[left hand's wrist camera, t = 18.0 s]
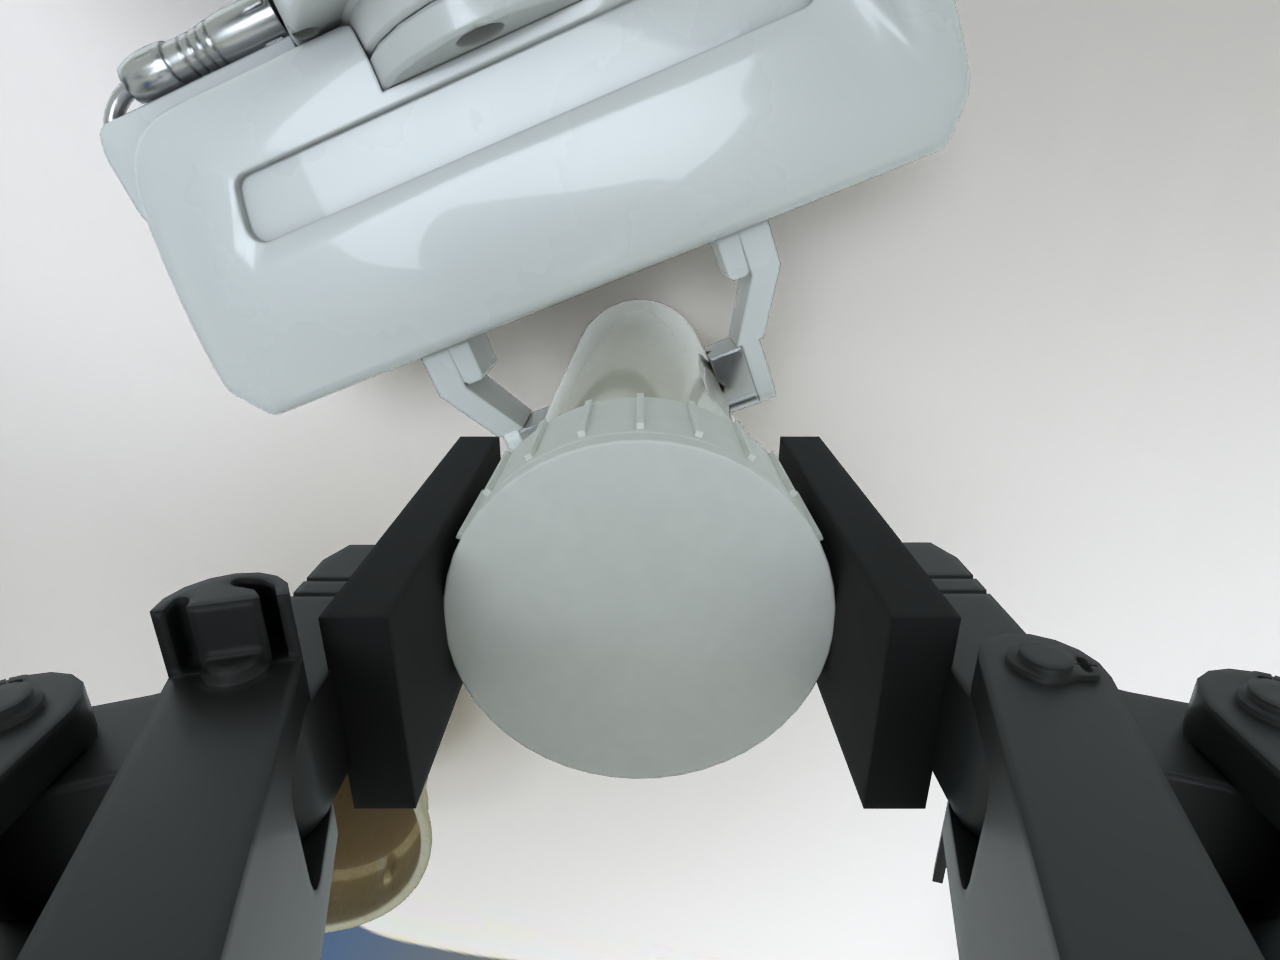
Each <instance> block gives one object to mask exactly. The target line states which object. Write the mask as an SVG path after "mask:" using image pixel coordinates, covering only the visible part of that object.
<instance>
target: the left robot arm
mask: <svg viewBox="0 0 1280 960" xmlns="http://www.w3.org/2000/svg"><path fill="white" fill-rule="evenodd" d="M500 460H501V456H500V443H499V437H460V438H459V439H458V441H457V442H456V443H455V444H454V446H453V447H452V448H451V449H450V451H449V452H448V453H447V455H446V456H445V457H444V458H443V460H442V461H441V462H440V463H439V465H438V466H437V467H436V469H435V470H434V471H433V472H432V474H431V475H430V476H429V477H428V479H427V480H426V481H425V482H424V484H423V485H422V486H421V488H420V489H419V490H418V491H417V493H416V494H415V495H414V496H413V498H412V499H411V500H410V502H409V503H408V504H407V505H406V507H405V508H404V509H403V510H402V512H401V513H400V514H399V516H398V517H397V518H396V519H395V521H394V522H393V523H392V524H391V526H390V527H389V528H388V530H387V531H386V532H385V533H384V535H383V536H382V537H381V538H380V540H379V541H378V542H377V543H376V545H349V546H347V547H345V548H344V549H342V550H340V551H338V552H337V553H335V554H333V555H331V556H329V557H328V558H326V559H324V560H323V561H322V562H321V563H320V564H319V565H318V566H317V567H316V568H315V570H314V571H313V572H312V573H311V574H310V575H309V576H308V577H307V581H304V582H303V583H302V584H301V585H300V586H299V587H298V588H297V590H296V591H295V592H294V596H293V597H290V592H289V588H288V583H287V582H285V581H284V580H282V579H281V578H279V577H278V576H275V575H269V574H264V573H236V574H231V575H226V576H220V577H215V578H210V579H207V580H204V581H201V582H198V583H196V584H193V585H190V586H187V587H184V588H182V589H180V590H179V591H177V592H175V593H173V594H171V595H169V596H168V597H166V598H164V599H163V600H162V601H160V602H159V603H158V604H157V605H156V606H155V607H154V608H153V609H152V610H151V611H150V614H151V618H152V621H153V625H154V628H155V632H156V635H157V639H158V642H159V645H160V649H161V652H162V656H163V659H164V663H165V666H166V670H167V673H168V677H169V679H168V680H167V682H166V684H165V686H164V688H163V690H162V692H161V693H159V694H155V695H150V696H145V697H140V698H134V699H129V700H124V701H119V702H113V703H108V704H103V705H98V706H92V707H91V704H90V701H89V698H88V695H87V692H86V689H85V686H84V683H83V682H82V681H81V680H79V679H78V678H76V677H75V676H74V675H72V674H64V673H55V672H49V673H41V674H33V675H21V676H16V677H12V678H9V680H7V681H6V679H4V680H1V681H0V960H321V955H322V948H323V940H324V933H325V926H326V918H327V911H328V904H329V896H330V889H331V881H332V874H333V867H334V859H335V852H336V845H337V837H338V831H337V824H336V818H335V813H334V808H333V803H332V802H333V800H334V798H335V796H336V795H337V793H338V791H339V789H340V787H341V785H342V783H343V781H344V779H345V777H346V775H347V773H348V778H349V783H350V788H351V794H352V799H353V804H354V809H416V807H417V804H418V801H419V799H420V796H421V793H422V791H423V788H424V785H425V782H426V780H427V777H428V774H429V772H430V769H431V766H432V764H433V761H434V758H435V756H436V753H437V750H438V748H439V745H440V742H441V740H442V737H443V734H444V732H445V729H446V726H447V724H448V721H449V718H450V716H451V713H452V710H453V707H454V705H455V702H456V699H457V697H458V694H459V691H460V689H461V686H462V683H463V682H462V680H461V678H460V676H459V674H458V672H457V669H456V667H455V665H454V663H453V659H452V656H451V653H450V650H449V647H448V641H447V633H446V624H445V615H444V600H443V598H444V591H445V584H446V578H447V573H448V570H449V567H450V564H451V560H452V557H453V554H454V552H455V550H456V548H457V546H458V544H459V541H460V540H459V539H457V538H456V536H457V534H458V531H459V530H460V528H461V526H462V524H463V523H464V521H465V519H466V517H467V515H468V514H469V512H470V510H471V508H472V507H473V505H474V503H475V501H476V499H477V498H478V496H479V494H480V492H481V491H482V490H484V489H485V487H486V485H487V483H488V482H489V480H490V478H491V476H492V474H493V473H494V471H495V469H496V467H497V465H498V464H499V462H500ZM779 461H780V463H781V465H782V467H783V469H784V470H785V472H786V474H787V476H788V478H789V479H790V481H791V483H792V485H793V487H794V488H795V490H796V491H798V493H799V495H800V496H801V498H802V500H803V502H804V504H805V505H806V507H807V509H808V511H809V512H810V514H811V516H812V518H813V520H814V521H815V523H816V525H817V527H818V529H819V530H820V532H821V534H822V536H823V540H821V541H820V543H821V546H822V548H823V551H824V553H825V555H826V558H827V560H828V563H829V567H830V571H831V575H832V579H833V584H834V592H835V619H834V628H833V636H832V642H831V646H830V651H829V654H828V656H827V659H826V662H825V664H824V667H823V669H822V672H821V674H820V676H819V678H818V679H817V681H816V682H817V685H818V687H819V690H820V693H821V695H822V698H823V701H824V703H825V706H826V709H827V711H828V714H829V717H830V719H831V722H832V725H833V727H834V730H835V733H836V735H837V738H838V741H839V744H840V746H841V749H842V752H843V754H844V757H845V760H846V762H847V765H848V768H849V770H850V773H851V776H852V778H853V781H854V784H855V786H856V789H857V792H858V794H859V797H860V800H861V802H862V805H863V808H864V809H925V807H926V802H927V796H928V791H929V786H930V781H931V775H932V771H933V773H934V774H935V776H936V778H937V780H938V782H939V784H940V786H941V788H942V790H943V792H944V794H945V796H946V797H947V799H948V803H947V808H946V813H945V818H944V822H943V827H942V832H941V837H940V842H939V847H938V852H937V857H936V862H935V867H934V874H933V881H934V882H938V883H943V878H944V873H945V869H946V868H947V872H948V880H949V887H950V894H951V902H952V909H953V916H954V924H955V931H956V938H957V946H958V953H959V960H1280V677H1278V676H1275V677H1272V676H1271V674H1267V673H1262V672H1258V671H1244V670H1236V669H1222V670H1213V671H1208V672H1206V673H1205V674H1203V675H1202V676H1201V677H1199V678H1198V679H1197V682H1196V685H1195V687H1194V690H1193V693H1192V696H1191V699H1190V702H1189V703H1184V702H1179V701H1173V700H1168V699H1163V698H1158V697H1152V696H1147V695H1142V694H1136V693H1131V692H1127V691H1122V690H1118V688H1117V687H1116V685H1115V683H1114V681H1113V679H1112V677H1111V676H1110V675H1109V674H1108V673H1107V672H1106V670H1105V669H1104V668H1103V667H1102V666H1101V665H1100V663H1098V662H1097V661H1095V660H1094V659H1092V658H1091V657H1089V656H1088V655H1086V654H1085V653H1083V652H1082V651H1080V650H1078V649H1076V648H1073V647H1071V646H1068V645H1066V644H1063V643H1061V642H1059V641H1056V640H1053V639H1048V638H1044V637H1040V636H1035V635H1031V634H1026V633H1025V632H1024V631H1023V630H1022V629H1021V628H1020V627H1019V625H1018V624H1017V623H1016V622H1015V621H1014V620H1013V619H1012V618H1011V617H1010V616H1009V614H1008V613H1007V612H1006V611H1005V610H1004V609H1003V608H1002V607H1001V606H1000V605H999V603H998V602H997V601H996V600H995V599H994V598H993V597H992V596H991V595H990V594H987V593H986V589H985V588H984V587H983V586H982V585H981V584H980V583H979V581H978V580H977V579H973V575H972V574H971V573H970V572H969V570H968V569H967V568H966V567H965V566H964V565H963V564H962V563H961V562H960V561H959V559H958V558H957V557H955V556H953V555H951V554H949V553H948V552H946V551H944V550H942V549H941V548H939V547H937V546H935V545H933V544H932V543H902V542H901V540H900V539H899V538H898V536H897V535H896V534H895V533H894V531H893V530H892V529H891V528H890V526H889V525H888V524H887V523H886V521H885V520H884V519H883V517H882V516H881V515H880V514H879V512H878V511H877V510H876V509H875V507H874V506H873V505H872V503H871V502H870V501H869V500H868V498H867V497H866V496H865V495H864V493H863V492H862V491H861V489H860V488H859V487H858V486H857V484H856V483H855V482H854V481H853V479H852V478H851V477H850V475H849V474H848V473H847V472H846V470H845V469H844V468H843V467H842V465H841V464H840V463H839V462H838V460H837V459H836V458H835V456H834V455H833V454H832V453H831V451H830V450H829V449H828V448H827V446H826V445H825V444H824V442H823V441H822V440H821V439H820V437H780V450H779Z"/></svg>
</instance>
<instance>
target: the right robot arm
mask: <svg viewBox="0 0 1280 960" xmlns="http://www.w3.org/2000/svg"><path fill="white" fill-rule="evenodd" d="M117 72H118V76H119V79H120V81H121V83H120V84H119V85H118V86H117V87H116V88H115V90H114V91H113V92H112V94H111V96H110V98H109V100H108V102H107V105H106V108H105V112H104V120H103V124H104V125H103V127H102V128H101V131H100V138H101V143H102V147H103V149H104V152H105V155H106V157H107V159H108V162H109V163H110V165H111V167H112V169H113V170H114V172H115V174H116V175H117V177H118V179H119V180H120V182H121V184H122V185H123V187H124V189H125V190H126V192H127V194H128V195H129V197H130V199H131V200H132V202H133V204H134V205H135V207H136V209H137V210H138V212H139V213H140V214H141V216H142V217H143V218H144V219H145V220H146V222H147V223H148V225H149V228H150V231H151V233H152V236H153V238H154V241H155V243H156V246H157V248H158V251H159V253H160V256H161V258H162V261H163V263H164V265H165V268H166V270H167V272H168V275H169V277H170V279H171V282H172V284H173V286H174V288H175V290H176V293H177V295H178V297H179V299H180V301H181V303H182V305H183V308H184V310H185V312H186V314H187V316H188V318H189V320H190V322H191V324H192V326H193V328H194V330H195V332H196V334H197V336H198V338H199V340H200V342H201V344H202V346H203V348H204V350H205V352H206V354H207V356H208V358H209V360H210V361H211V363H212V365H213V367H214V369H215V371H216V372H217V374H218V376H219V377H220V379H221V380H222V382H223V384H224V385H225V386H226V387H227V389H228V390H229V391H230V392H231V393H232V394H234V395H235V396H237V397H239V398H241V399H243V400H245V401H246V402H248V403H250V404H252V405H254V406H255V407H257V408H259V409H262V410H264V411H266V412H268V413H270V414H282V413H284V412H287V411H290V410H292V409H295V408H297V407H300V406H302V405H305V404H307V403H310V402H312V401H315V400H317V399H320V398H322V397H325V396H327V395H330V394H332V393H335V392H337V391H340V390H342V389H345V388H347V387H350V386H352V385H355V384H357V383H360V382H362V381H365V380H367V379H370V378H372V377H375V376H377V375H380V374H382V373H385V372H387V371H390V370H392V369H395V368H397V367H400V366H402V365H405V364H407V363H410V362H412V361H415V360H417V359H420V358H421V360H422V362H423V364H424V366H425V368H426V370H427V372H428V374H429V376H430V378H431V380H432V382H433V384H434V386H435V388H436V390H437V392H438V394H439V396H440V397H441V398H443V399H444V400H446V401H447V402H448V403H450V404H451V405H453V406H454V407H456V408H457V409H458V410H460V411H461V412H463V413H464V414H466V415H467V416H469V417H470V418H471V419H473V420H474V421H476V422H477V423H479V424H480V425H481V426H483V427H484V428H486V429H487V430H489V431H490V432H491V433H493V434H494V435H496V436H497V437H502V436H503V438H504V440H505V442H506V444H507V446H508V448H509V450H510V452H511V453H512V452H513V451H514V450H515V448H516V447H517V446H518V445H519V444H520V443H521V442H522V441H523V440H525V439H526V438H527V437H528V436H529V435H531V434H532V433H533V432H534V431H535V430H536V429H537V427H538V425H539V423H540V422H541V421H543V420H544V418H545V416H546V414H547V412H548V410H549V407H550V406H548V407H545V408H543V409H540V410H537V411H534V412H532V411H531V410H530V409H529V408H528V407H526V406H525V405H524V404H523V403H521V402H520V401H519V400H518V399H516V398H515V397H514V396H512V395H511V394H510V393H509V392H507V391H506V390H505V389H504V388H502V387H501V386H500V385H499V384H497V383H496V382H495V381H494V380H492V379H491V378H490V377H488V376H487V375H486V374H487V373H488V372H489V371H490V369H491V368H492V367H493V366H494V365H495V364H496V361H497V358H496V356H495V353H494V351H493V349H492V347H491V344H490V342H489V340H488V338H487V335H486V333H485V332H487V331H490V330H492V329H495V328H497V327H500V326H502V325H505V324H507V323H510V322H512V321H515V320H517V319H520V318H522V317H525V316H527V315H530V314H532V313H535V312H537V311H540V310H542V309H545V308H547V307H550V306H552V305H555V304H557V303H560V302H562V301H565V300H567V299H570V298H572V297H575V296H577V295H580V294H582V293H585V292H587V291H590V290H592V289H595V288H597V287H600V286H602V285H605V284H607V283H610V282H612V281H615V280H617V279H620V278H622V277H625V276H627V275H630V274H632V273H635V272H637V271H640V270H642V269H645V268H647V267H650V266H652V265H655V264H657V263H660V262H662V261H665V260H667V259H670V258H672V257H675V256H677V255H680V254H682V253H685V252H687V251H690V250H692V249H695V248H697V247H700V246H702V245H705V244H707V243H710V244H711V246H712V249H713V252H714V255H715V258H716V261H717V264H718V267H719V269H720V272H721V273H722V274H724V275H725V276H726V277H727V278H729V279H731V280H734V281H735V280H738V279H739V284H738V289H737V294H736V300H735V305H734V310H733V315H732V321H731V326H730V331H729V338H726V339H724V340H721V341H719V342H716V343H714V344H712V345H709V346H707V347H704V350H705V353H706V355H707V358H708V361H709V364H710V366H711V368H712V371H713V373H714V375H715V377H716V378H717V380H718V382H719V385H720V387H721V389H722V391H723V393H724V396H725V398H726V400H727V402H728V404H729V407H730V409H731V411H732V412H734V411H737V410H740V409H743V408H746V407H749V406H751V405H754V404H757V403H759V402H762V401H765V400H768V399H771V398H773V397H776V392H775V387H774V383H773V380H772V377H771V374H770V371H769V368H768V365H767V362H766V359H765V355H764V352H763V349H762V346H761V343H760V340H759V339H762V338H764V334H765V330H766V326H767V321H768V317H769V313H770V308H771V304H772V300H773V295H774V291H775V287H776V282H777V278H778V274H779V270H780V265H781V263H780V260H779V257H778V253H777V250H776V246H775V243H774V239H773V236H772V233H771V229H770V226H769V222H768V219H770V218H772V217H775V216H777V215H780V214H782V213H785V212H787V211H790V210H792V209H795V208H797V207H800V206H802V205H805V204H807V203H810V202H812V201H815V200H817V199H820V198H822V197H825V196H827V195H830V194H832V193H835V192H837V191H840V190H842V189H845V188H847V187H850V186H852V185H855V184H857V183H860V182H862V181H865V180H867V179H870V178H872V177H875V176H877V175H880V174H882V173H885V172H887V171H890V170H892V169H895V168H897V167H900V166H902V165H905V164H907V163H910V162H912V161H915V160H917V159H920V158H922V157H925V156H927V155H930V154H932V153H935V152H937V151H939V150H941V149H942V148H944V147H945V146H946V145H947V143H948V142H949V140H950V138H951V136H952V134H953V132H954V130H955V128H956V125H957V123H958V120H959V118H960V115H961V113H962V110H963V107H964V105H965V102H966V100H967V97H968V93H969V87H970V82H969V69H968V62H967V55H966V49H965V44H964V39H963V35H962V30H961V25H960V21H959V16H958V12H957V8H956V3H955V0H238V1H236V2H234V3H232V4H230V5H228V6H226V7H224V8H222V9H220V10H218V11H216V12H215V13H213V14H212V15H210V16H208V17H207V18H205V19H204V20H202V21H201V22H200V23H198V24H197V25H196V26H194V27H193V28H191V29H190V30H188V31H187V32H185V33H183V34H181V35H180V36H179V37H175V38H173V39H171V40H169V41H167V42H164V41H158V42H155V43H151V44H149V45H147V46H145V47H143V48H141V49H139V50H137V51H135V52H134V53H132V54H131V55H129V56H128V57H127V58H126V59H125V60H124V61H123V62H122V63H121V64H120V65H119V66H118V69H117ZM135 99H136V100H137V101H139V102H140V103H142V104H145V105H143V106H141V107H139V108H137V109H135V110H133V111H131V112H129V113H127V114H126V112H127V110H128V108H129V106H130V104H131V103H132V102H133V101H134V100H135Z"/></svg>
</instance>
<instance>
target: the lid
mask: <svg viewBox="0 0 1280 960" xmlns="http://www.w3.org/2000/svg"><path fill="white" fill-rule="evenodd" d="M456 538H457V539H459V540H460V541H459V544H458V546H457V548H456V550H455V552H454V554H453V557H452V560H451V564H450V567H449V570H448V573H447V578H446V584H445V591H444V598H443V600H444V615H445V624H446V633H447V641H448V647H449V650H450V653H451V656H452V659H453V663H454V665H455V667H456V669H457V672H458V674H459V676H460V678H461V680H462V682H463V684H464V686H465V687H466V689H467V690H468V692H469V693H470V695H471V696H472V698H473V699H474V701H475V702H476V703H477V705H478V706H479V707H480V708H481V709H482V710H483V711H484V713H485V714H486V715H487V716H488V717H489V718H490V719H491V720H492V721H493V722H494V723H495V724H496V725H497V726H498V727H500V728H501V729H502V730H503V731H504V732H505V733H506V734H507V735H509V736H510V737H512V738H513V739H515V740H516V741H517V742H519V743H520V744H522V745H523V746H525V747H526V748H528V749H530V750H532V751H534V752H535V753H537V754H539V755H541V756H543V757H545V758H547V759H549V760H552V761H554V762H557V763H559V764H562V765H564V766H567V767H570V768H573V769H577V770H580V771H584V772H587V773H592V774H598V775H603V776H609V777H620V778H633V779H638V778H661V777H668V776H676V775H682V774H686V773H691V772H695V771H699V770H703V769H706V768H709V767H711V766H714V765H717V764H720V763H723V762H725V761H727V760H729V759H732V758H734V757H736V756H738V755H740V754H742V753H744V752H746V751H747V750H749V749H751V748H752V747H754V746H755V745H757V744H759V743H760V742H762V741H763V740H765V739H766V738H767V737H769V736H770V735H771V734H772V733H773V732H775V731H776V730H777V729H778V728H780V727H781V726H782V725H783V724H784V723H785V722H786V721H787V720H788V719H789V718H790V717H791V716H792V715H793V714H794V713H795V712H796V711H797V710H798V708H799V707H800V705H801V704H802V703H803V701H804V700H805V699H806V697H807V696H808V695H809V693H810V692H811V690H812V688H813V687H814V685H815V683H816V681H817V679H818V678H819V676H820V674H821V672H822V669H823V667H824V664H825V662H826V659H827V656H828V654H829V651H830V646H831V642H832V636H833V628H834V619H835V592H834V584H833V579H832V575H831V571H830V567H829V563H828V560H827V558H826V555H825V553H824V551H823V548H822V546H821V543H820V541H821V540H823V536H822V534H821V532H820V530H819V529H818V527H817V525H816V523H815V521H814V520H813V518H812V516H811V514H810V512H809V511H808V509H807V507H806V505H805V504H804V502H803V500H802V498H801V496H800V495H799V493H798V491H796V490H795V488H794V487H793V485H792V483H791V481H790V479H789V478H788V476H787V474H786V472H785V470H784V469H783V467H782V465H781V463H780V461H779V460H778V458H777V456H776V455H775V453H774V452H771V453H770V454H768V453H767V452H766V450H765V449H764V448H763V447H762V446H761V445H760V444H759V443H757V442H756V441H755V440H754V439H753V438H752V437H751V436H750V435H749V434H748V433H746V432H745V431H744V429H743V427H742V425H741V423H740V422H738V421H737V420H735V421H734V422H733V423H732V422H730V421H728V420H727V419H725V418H723V417H721V416H719V415H717V414H715V413H713V412H711V411H708V410H706V409H703V408H700V407H697V406H696V404H695V401H692V400H688V403H684V402H680V401H675V400H671V399H665V398H654V397H644V393H637V397H621V398H615V399H609V400H603V401H598V402H594V403H593V401H592V399H591V400H587V401H585V405H584V406H581V407H578V408H575V409H573V410H571V411H569V412H566V413H564V414H562V415H560V416H558V417H556V418H554V419H552V420H551V421H549V422H548V423H547V421H546V420H545V419H544V420H543V421H541V422H540V423H539V425H538V427H537V429H536V430H535V431H534V432H533V433H532V434H531V435H529V436H528V437H527V438H526V439H525V440H523V441H522V442H521V443H520V444H519V445H518V446H517V447H516V448H515V450H514V451H513V452H512V453H510V452H509V451H506V452H505V453H504V455H503V456H502V458H501V460H500V462H499V464H498V465H497V467H496V469H495V471H494V473H493V474H492V476H491V478H490V480H489V482H488V483H487V485H486V487H485V489H484V490H482V491H481V492H480V494H479V496H478V498H477V499H476V501H475V503H474V505H473V507H472V508H471V510H470V512H469V514H468V515H467V517H466V519H465V521H464V523H463V524H462V526H461V528H460V530H459V531H458V534H457V536H456Z"/></svg>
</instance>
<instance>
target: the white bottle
mask: <svg viewBox="0 0 1280 960" xmlns="http://www.w3.org/2000/svg"><path fill="white" fill-rule="evenodd" d="M637 393H644V397H654V398H665V399H671V400H675V401H680V402H684V403H688V400H692V401H695V404H696V406H697V407H700V408H703V409H706V410H708V411H711V412H713V413H715V414H717V415H719V416H721V417H723V418H725V419H727V420H728V421H730V422H732V423H733V422H734V421H735V418H734V416H733V413H732V411H731V409H730V407H729V404H728V402H727V400H726V398H725V396H724V393H723V391H722V389H721V387H720V385H719V382H718V380H717V378H716V377H715V375H714V373H713V371H712V368H711V366H710V364H709V361H708V358H707V356H706V354H705V352H704V349H703V347H702V345H701V343H700V341H699V338H698V336H697V334H696V332H695V331H694V329H693V327H692V326H691V325H690V324H689V322H688V321H687V320H686V319H685V318H684V317H683V316H682V315H681V314H679V313H678V312H677V311H675V310H674V309H672V308H670V307H669V306H666V305H664V304H662V303H659V302H655V301H650V300H630V301H625V302H621V303H618V304H615V305H613V306H611V307H609V308H607V309H606V310H604V311H603V312H601V313H600V314H599V315H598V316H596V317H595V318H594V320H593V321H592V322H591V323H590V324H589V325H588V327H587V328H586V330H585V332H584V333H583V335H582V337H581V339H580V342H579V344H578V346H577V348H576V350H575V353H574V355H573V357H572V359H571V361H570V364H569V366H568V368H567V370H566V372H565V374H564V377H563V379H562V381H561V383H560V385H559V388H558V390H557V392H556V394H555V396H554V399H553V401H552V403H551V405H550V407H549V410H548V412H547V414H546V416H545V418H544V419H545V420H546V421H547V423H548V422H549V421H551V420H552V419H554V418H556V417H558V416H560V415H562V414H564V413H566V412H569V411H571V410H573V409H575V408H578V407H581V406H584V405H585V401H587V400H591V399H592V401H593V403H594V402H598V401H603V400H609V399H615V398H621V397H637Z"/></svg>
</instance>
